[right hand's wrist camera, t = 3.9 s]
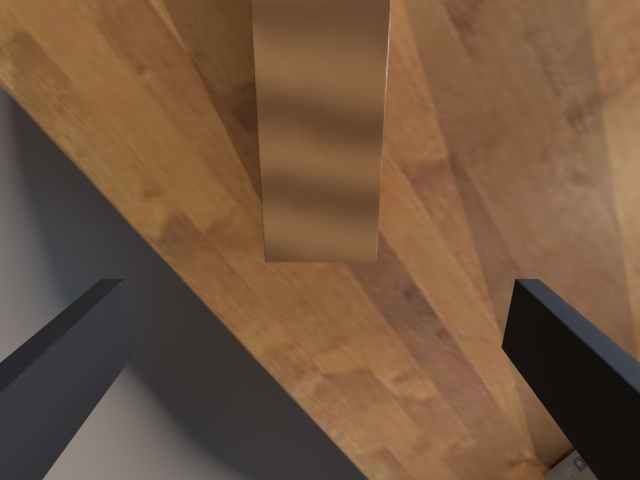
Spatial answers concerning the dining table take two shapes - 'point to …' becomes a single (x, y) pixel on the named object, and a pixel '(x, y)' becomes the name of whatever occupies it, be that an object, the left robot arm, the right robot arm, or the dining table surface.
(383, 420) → the dining table surface
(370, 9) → the thick board
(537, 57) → the dining table surface
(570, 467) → the hard drive box
